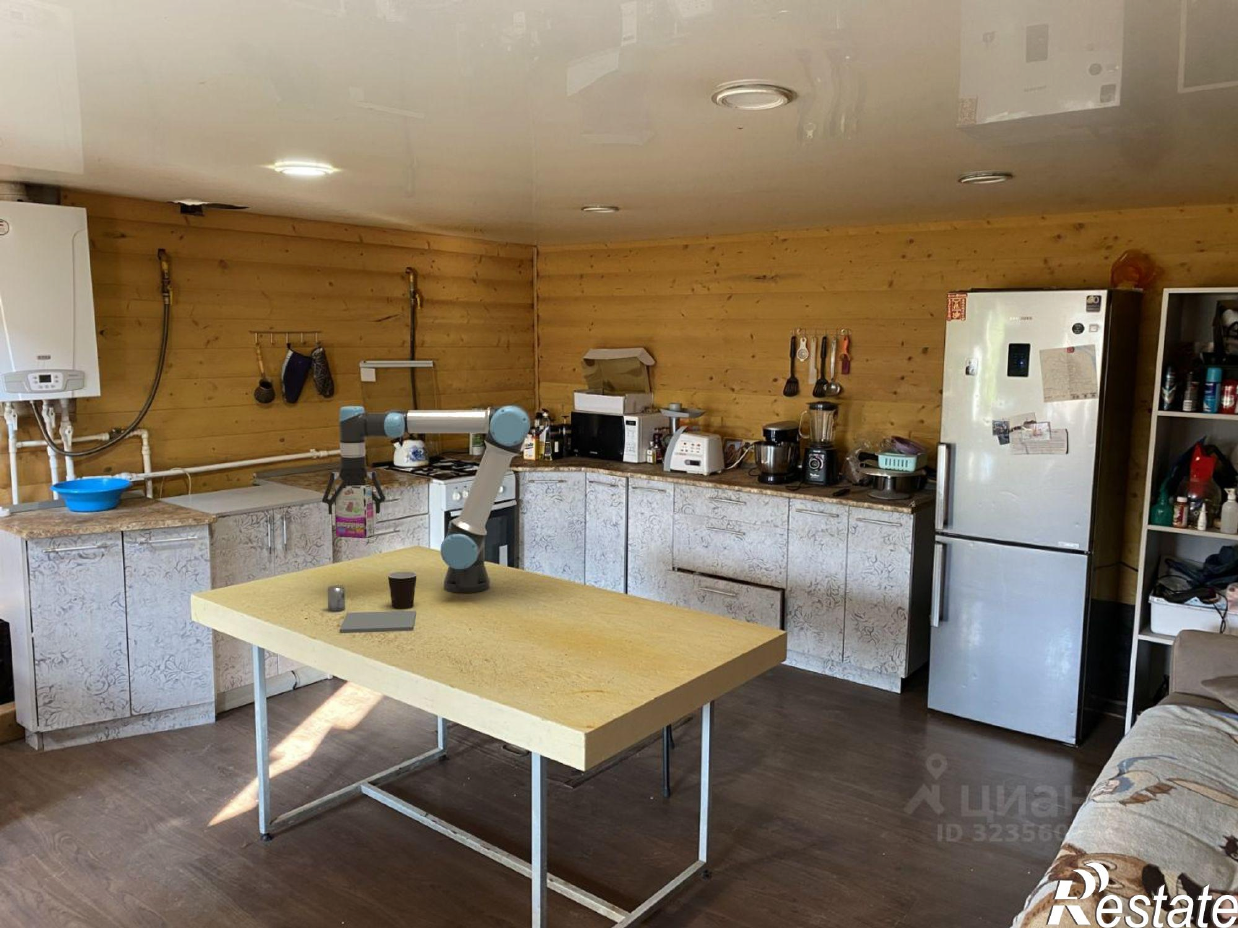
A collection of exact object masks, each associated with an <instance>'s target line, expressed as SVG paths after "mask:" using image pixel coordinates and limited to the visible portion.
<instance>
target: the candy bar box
mask: <svg viewBox="0 0 1238 928" xmlns="http://www.w3.org/2000/svg"><path fill="white" fill-rule="evenodd" d="M341 484H342V483H340V484H337V485H334V493H335V492H336V490H337V489H338V488H339V486H340V485H341ZM373 486H374V484H368V485H366V486H361V485H357V486H355V485H352V486H348V485H345V486H344V488H343V489H342V490H341V492H340V493H339V495H338V496H337V497H336V499H335V500H334V503H335V514H336V525H335V536H336V537H340V538H353V539H355V538H356V539H369V538H372V537H374V536H375V525H374V523H373V503H374V500H373V499H372V493H371V491H372V492H374V487H373Z"/></svg>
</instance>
